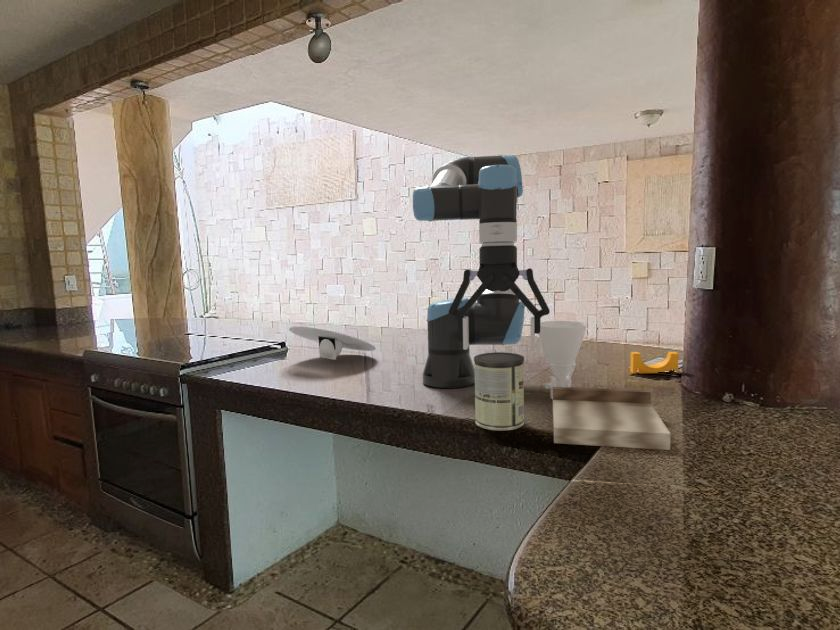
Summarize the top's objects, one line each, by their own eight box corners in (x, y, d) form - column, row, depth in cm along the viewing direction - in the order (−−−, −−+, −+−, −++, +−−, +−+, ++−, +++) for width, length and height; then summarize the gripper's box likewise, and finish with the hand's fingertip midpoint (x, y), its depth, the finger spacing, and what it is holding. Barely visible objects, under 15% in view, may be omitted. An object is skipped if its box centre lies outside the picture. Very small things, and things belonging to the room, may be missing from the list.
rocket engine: (527, 394, 131) (527, 323, 128) (566, 389, 134) (567, 319, 132) (554, 406, 120) (554, 329, 118) (595, 400, 124) (597, 325, 122)
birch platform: (553, 443, 98) (554, 414, 97) (552, 410, 117) (552, 386, 116) (670, 449, 93) (671, 420, 92) (648, 415, 112) (649, 390, 112)
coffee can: (474, 414, 116) (473, 352, 114) (521, 415, 114) (521, 351, 113) (474, 431, 105) (473, 362, 104) (526, 431, 104) (526, 362, 103)
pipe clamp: (672, 372, 149) (672, 350, 149) (677, 376, 145) (678, 353, 144) (628, 372, 151) (629, 350, 150) (632, 376, 147) (633, 353, 146)
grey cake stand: (268, 339, 179) (322, 323, 201) (292, 389, 177) (344, 368, 200) (319, 304, 164) (371, 291, 186) (345, 359, 162) (395, 339, 184)
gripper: (433, 246, 105) (435, 351, 107) (562, 242, 99) (562, 353, 101) (440, 246, 112) (442, 344, 114) (561, 243, 106) (561, 346, 108)
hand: (498, 349), depth 108 cm, fingers open, 13 cm apart
